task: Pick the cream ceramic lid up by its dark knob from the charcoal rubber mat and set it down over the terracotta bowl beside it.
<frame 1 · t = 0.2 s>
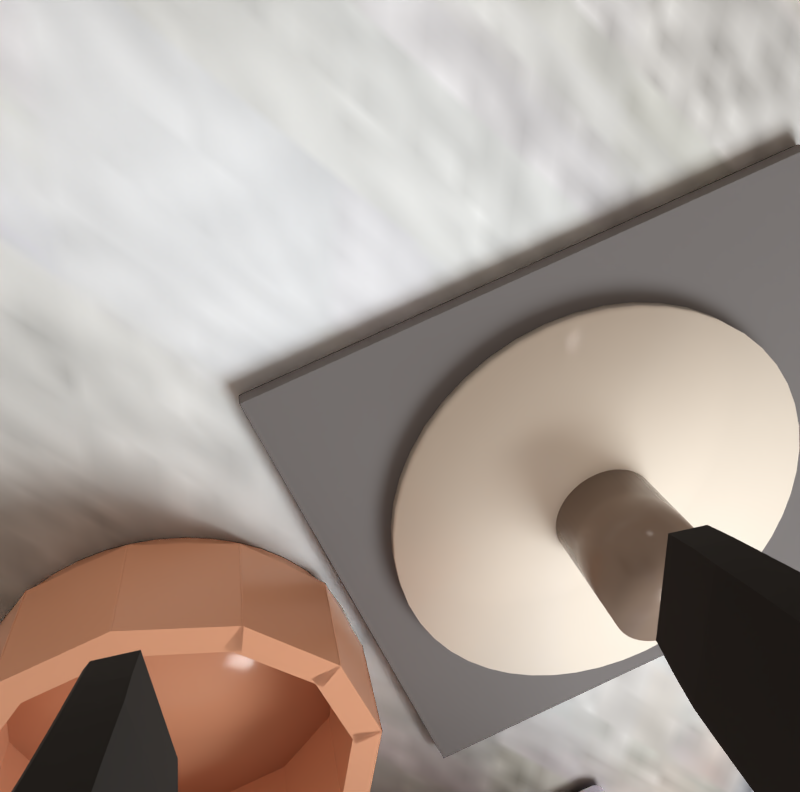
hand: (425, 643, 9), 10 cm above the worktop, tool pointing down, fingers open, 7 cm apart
lid: (596, 503, 22), resting on mat
mat: (589, 495, 22), on the worktop
bowl: (180, 683, 22), on the worktop
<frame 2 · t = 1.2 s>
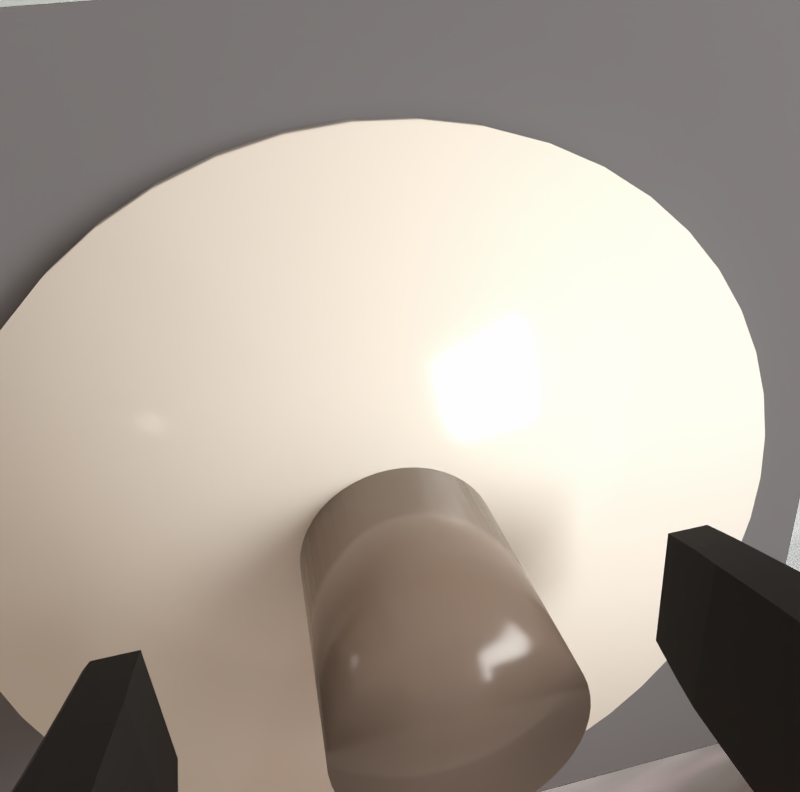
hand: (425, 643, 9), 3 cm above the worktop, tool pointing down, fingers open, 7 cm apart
lid: (392, 530, 12), resting on mat
mat: (386, 514, 12), on the worktop
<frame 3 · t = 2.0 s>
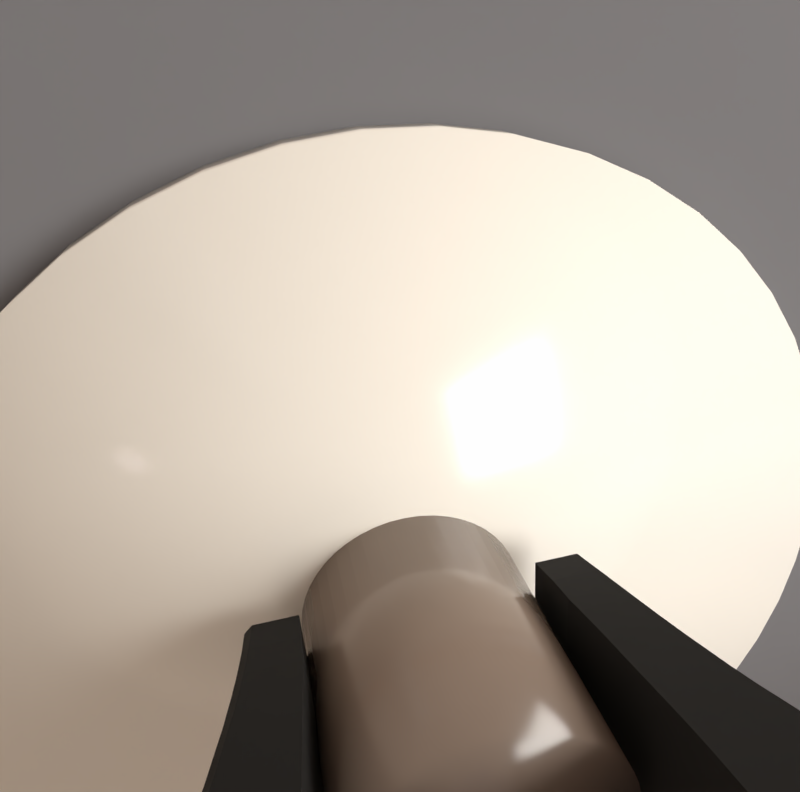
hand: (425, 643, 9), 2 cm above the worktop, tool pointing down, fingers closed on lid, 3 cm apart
lid: (403, 580, 11), resting on mat, touching gripper
mat: (397, 559, 11), on the worktop
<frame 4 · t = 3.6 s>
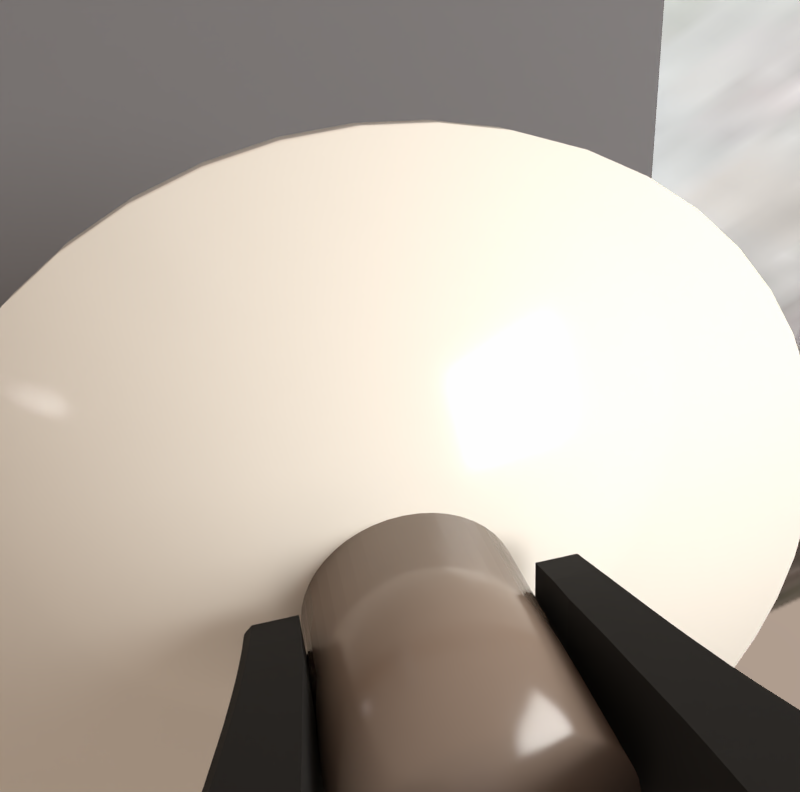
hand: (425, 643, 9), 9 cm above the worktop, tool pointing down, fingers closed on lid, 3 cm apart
lid: (402, 578, 11), point 8 cm above the worktop, touching gripper
mat: (318, 277, 16), on the worktop
when the fingers open (6 cm above the worktop, at t = 5.2 s): lid drops 2 cm, resting on bowl.
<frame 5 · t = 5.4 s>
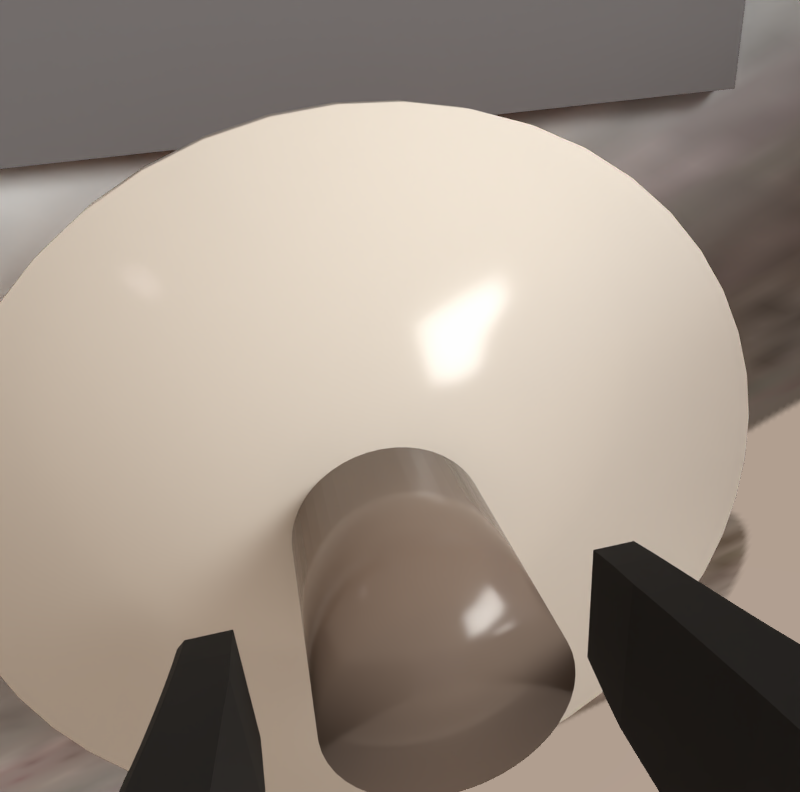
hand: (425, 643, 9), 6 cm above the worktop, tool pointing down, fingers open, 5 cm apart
lid: (382, 511, 12), point 3 cm above the worktop, touching bowl
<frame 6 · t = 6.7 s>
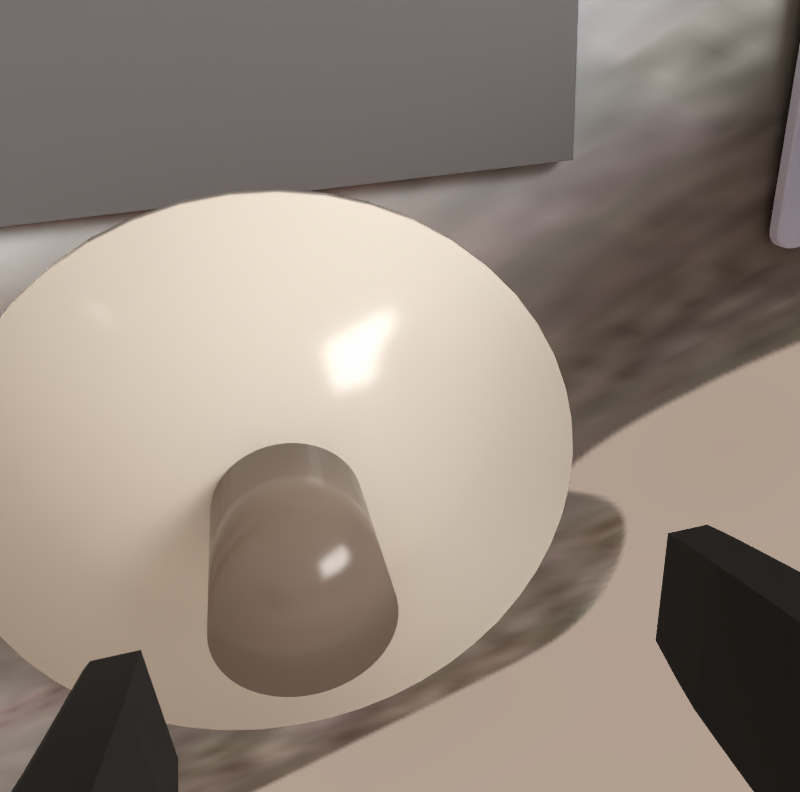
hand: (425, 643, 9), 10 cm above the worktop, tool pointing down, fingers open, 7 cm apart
lid: (285, 493, 15), point 3 cm above the worktop, touching bowl
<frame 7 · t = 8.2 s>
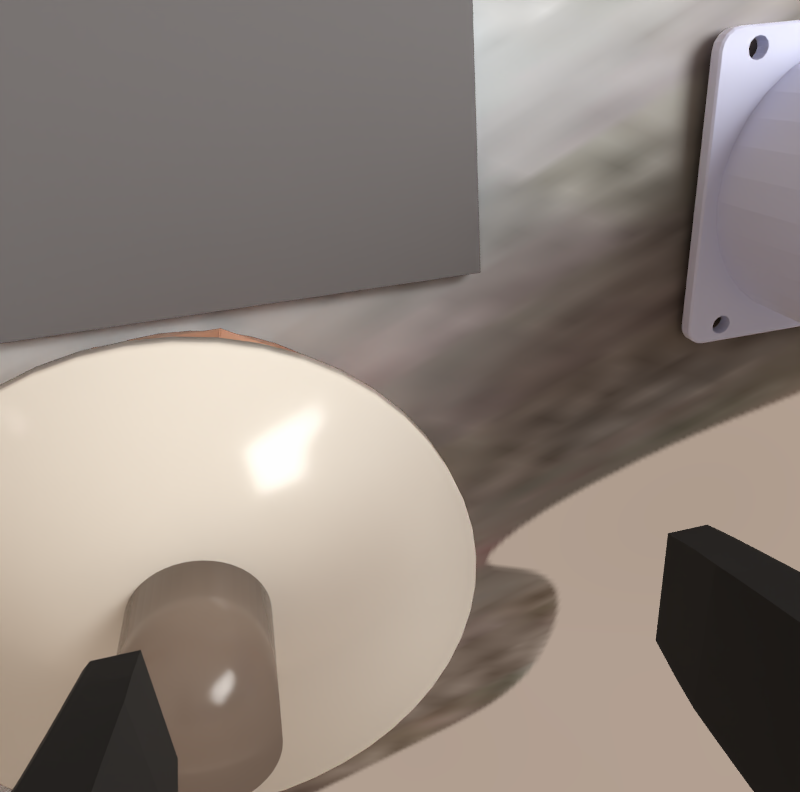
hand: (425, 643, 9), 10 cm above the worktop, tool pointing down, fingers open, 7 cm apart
lid: (200, 599, 16), point 3 cm above the worktop, touching bowl
bowl: (205, 518, 19), on the worktop
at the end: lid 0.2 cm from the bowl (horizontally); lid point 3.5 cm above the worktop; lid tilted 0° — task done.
